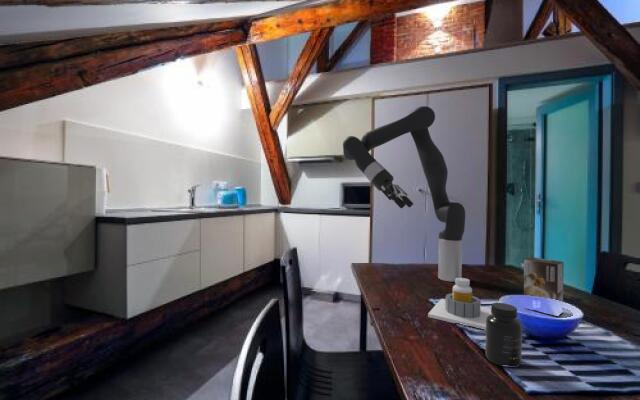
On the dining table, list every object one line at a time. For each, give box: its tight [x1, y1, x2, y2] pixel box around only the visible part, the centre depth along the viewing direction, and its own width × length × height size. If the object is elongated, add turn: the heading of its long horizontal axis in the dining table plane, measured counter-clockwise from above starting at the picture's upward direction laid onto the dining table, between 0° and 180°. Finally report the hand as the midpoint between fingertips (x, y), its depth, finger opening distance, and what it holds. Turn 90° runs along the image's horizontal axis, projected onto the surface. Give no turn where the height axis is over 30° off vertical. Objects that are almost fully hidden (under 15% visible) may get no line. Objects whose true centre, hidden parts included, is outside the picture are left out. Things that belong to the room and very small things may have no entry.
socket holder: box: [427, 292, 492, 331], centre depth 91 cm, size 16×16×5 cm
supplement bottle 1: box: [452, 277, 473, 303], centre depth 91 cm, size 5×5×10 cm
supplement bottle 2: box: [484, 302, 523, 367], centre depth 66 cm, size 7×7×12 cm
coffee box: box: [523, 256, 564, 302], centre depth 95 cm, size 9×6×16 cm
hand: (407, 206), depth 109 cm, fingers open, 8 cm apart
